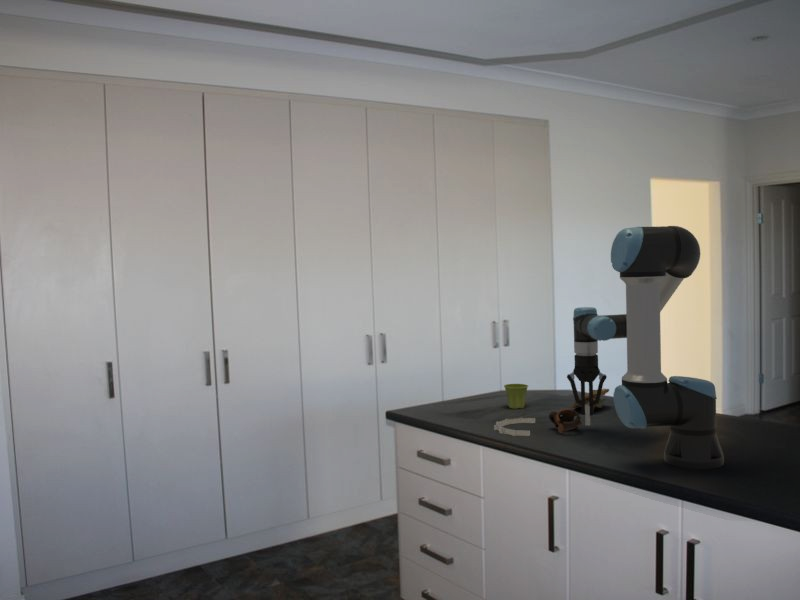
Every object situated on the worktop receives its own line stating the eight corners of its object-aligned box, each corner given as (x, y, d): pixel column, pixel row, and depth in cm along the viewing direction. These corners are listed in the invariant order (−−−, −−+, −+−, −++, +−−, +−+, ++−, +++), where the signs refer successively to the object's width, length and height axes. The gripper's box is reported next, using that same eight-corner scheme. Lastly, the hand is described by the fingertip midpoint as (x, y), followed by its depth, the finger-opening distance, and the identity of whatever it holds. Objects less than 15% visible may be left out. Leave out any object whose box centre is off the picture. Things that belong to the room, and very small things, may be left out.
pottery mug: (587, 430, 225) (586, 411, 221) (574, 447, 219) (572, 429, 215) (555, 418, 232) (553, 400, 228) (541, 435, 227) (539, 416, 223)
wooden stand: (584, 420, 262) (577, 401, 265) (619, 408, 256) (611, 389, 259) (570, 419, 247) (562, 399, 250) (607, 405, 241) (599, 385, 244)
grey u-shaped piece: (529, 436, 219) (529, 432, 219) (490, 435, 223) (490, 430, 223) (535, 421, 239) (535, 417, 239) (499, 420, 243) (499, 416, 242)
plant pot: (511, 404, 271) (510, 382, 270) (532, 406, 265) (532, 384, 265) (500, 408, 263) (499, 386, 263) (522, 410, 258) (521, 388, 257)
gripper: (606, 352, 224) (608, 422, 225) (566, 352, 228) (568, 421, 229) (606, 355, 217) (608, 427, 218) (565, 355, 221) (567, 426, 222)
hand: (587, 424), depth 224 cm, fingers closed
